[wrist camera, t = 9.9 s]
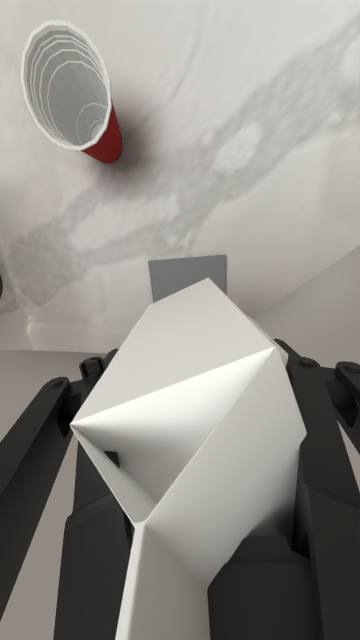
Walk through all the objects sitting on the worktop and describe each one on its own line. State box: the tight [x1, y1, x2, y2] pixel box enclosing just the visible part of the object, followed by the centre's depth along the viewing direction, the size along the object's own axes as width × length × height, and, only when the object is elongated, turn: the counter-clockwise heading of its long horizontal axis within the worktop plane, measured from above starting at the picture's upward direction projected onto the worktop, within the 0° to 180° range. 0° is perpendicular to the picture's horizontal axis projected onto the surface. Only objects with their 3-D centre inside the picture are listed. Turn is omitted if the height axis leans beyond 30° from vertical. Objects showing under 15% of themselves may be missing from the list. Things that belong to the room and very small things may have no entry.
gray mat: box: [148, 255, 226, 303], centre depth 40 cm, size 16×12×1 cm
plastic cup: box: [20, 20, 122, 163], centre depth 27 cm, size 11×11×12 cm
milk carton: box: [70, 278, 307, 640], centre depth 12 cm, size 7×7×19 cm
